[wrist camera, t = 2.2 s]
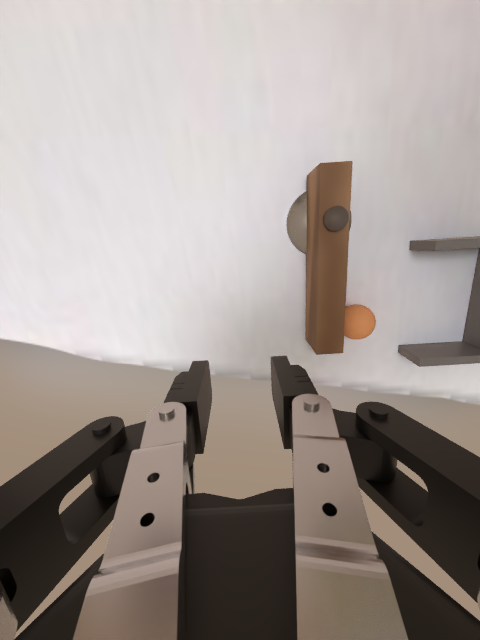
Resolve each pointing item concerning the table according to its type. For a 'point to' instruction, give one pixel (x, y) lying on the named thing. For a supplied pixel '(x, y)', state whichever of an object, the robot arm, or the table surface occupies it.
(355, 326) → the ball
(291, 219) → the pin plate
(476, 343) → the pocket
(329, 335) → the lever
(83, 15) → the table surface
